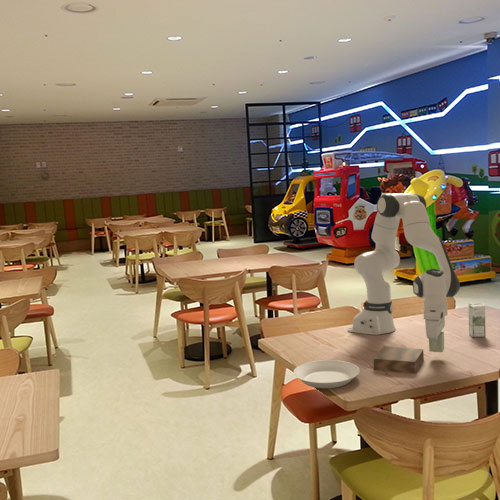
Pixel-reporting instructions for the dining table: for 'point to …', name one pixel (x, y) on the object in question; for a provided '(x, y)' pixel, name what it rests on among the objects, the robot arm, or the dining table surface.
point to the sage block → (440, 344)
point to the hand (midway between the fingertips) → (436, 343)
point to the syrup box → (477, 320)
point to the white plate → (326, 373)
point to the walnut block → (398, 359)
